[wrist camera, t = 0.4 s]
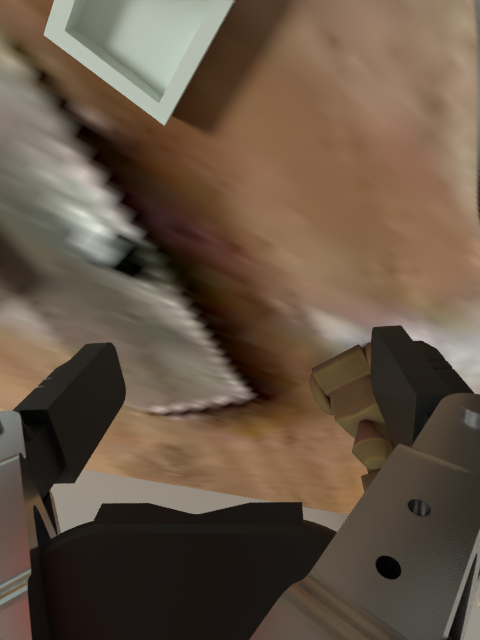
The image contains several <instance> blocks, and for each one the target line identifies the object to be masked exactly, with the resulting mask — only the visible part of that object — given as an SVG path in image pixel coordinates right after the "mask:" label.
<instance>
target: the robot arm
mask: <svg viewBox="0 0 480 640" xmlns="http://www.w3.org/2000/svg"><path fill="white" fill-rule="evenodd" d="M370 378H371V387H372V391H373V395H374V397H375V400H376V402H377V404H378V407H379V409H380V412H381V414H382V416H383V419H384V421H385V424H386V426H387V428H388V431H389V433H390V435H391V438H392V440H393V443H394V445H395V447H396V448H395V449H394V450H393V452H392V453H391V455H390V456H389V458H388V459H387V461H386V462H385V464H384V465H383V466H382V468H381V469H380V471H379V472H378V474H377V475H376V477H375V478H374V480H373V481H372V482H371V484H370V485H369V487H368V488H367V490H366V491H365V493H364V494H363V496H362V497H361V499H360V500H359V501H358V503H357V504H356V506H355V507H354V509H353V510H352V512H351V513H350V515H349V516H348V517H347V519H346V520H345V522H344V523H343V525H342V526H341V528H340V529H339V531H338V532H336V531H334V530H331V529H329V528H328V527H325V526H322V525H320V524H317V523H314V522H310V521H307V520H303V511H302V502H269V503H247V504H242V505H238V506H234V507H229V508H225V509H221V510H216V511H212V512H207V513H203V514H190V513H186V512H182V511H178V510H174V509H170V508H166V507H162V506H158V505H154V504H149V503H125V504H124V503H122V504H121V503H119V504H118V503H113V504H102V505H101V507H100V509H99V511H98V513H97V515H96V517H95V519H94V521H92V522H88V523H85V524H82V525H79V526H76V527H74V528H72V529H69V530H67V531H65V532H63V533H61V532H60V527H59V521H58V517H57V512H56V507H55V502H54V498H53V495H52V493H51V490H50V489H51V487H52V486H53V484H58V483H75V481H76V479H77V478H78V476H79V475H80V473H81V471H82V470H83V468H84V467H85V465H86V463H87V462H88V460H89V459H90V457H91V455H92V454H93V452H94V450H95V449H96V447H97V446H98V444H99V442H100V441H101V439H102V437H103V436H104V434H105V433H106V431H107V429H108V428H109V426H110V424H111V423H112V421H113V420H114V418H115V416H116V415H117V413H118V412H119V410H120V408H121V407H122V405H123V403H124V400H125V395H126V387H125V382H124V378H123V375H122V371H121V367H120V363H119V359H118V355H117V352H116V348H115V346H114V345H113V344H112V343H110V342H108V343H92V344H86V345H85V346H84V347H83V348H82V349H81V350H80V351H79V352H78V353H77V354H76V355H74V356H73V357H72V358H71V359H70V360H69V361H68V362H66V363H64V364H63V365H61V366H59V367H58V368H56V369H55V370H54V371H53V372H52V373H51V374H50V375H49V376H48V377H47V379H46V380H44V381H43V382H42V383H41V384H39V385H38V388H35V389H34V390H33V391H32V392H31V393H30V394H29V395H28V396H27V397H26V398H25V399H24V400H23V401H22V402H21V403H20V404H19V405H18V406H17V407H16V408H15V409H13V410H12V411H0V640H463V639H464V635H465V631H466V628H467V624H468V620H469V616H470V612H471V609H472V605H473V601H474V598H475V594H476V591H477V588H478V584H479V581H480V395H479V394H475V393H474V392H473V391H472V390H471V389H470V388H469V386H468V385H467V384H466V383H465V382H464V381H463V379H462V378H461V377H460V376H459V375H458V374H457V372H456V371H455V370H454V369H452V366H451V365H450V364H449V363H448V362H447V361H445V358H444V357H443V356H442V355H441V354H440V352H439V351H438V350H437V349H436V348H434V347H432V346H430V345H429V344H427V343H425V342H423V341H412V339H411V338H410V337H409V335H408V334H407V333H406V331H405V330H404V329H403V327H402V326H400V325H399V326H383V327H374V328H373V330H372V339H371V370H370Z"/></svg>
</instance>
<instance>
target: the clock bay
mask: <svg viewBox="0 0 480 640" xmlns="http://www.w3.org/2000/svg"><path fill="white" fill-rule="evenodd" d="M235 1H236V0H54V3H53V6H52V9H51V13H50V16H49V19H48V22H47V26H46V29H45V32H44V36H46V37H47V38H48V39H50V40H51V41H52V42H54V43H55V44H56V45H58V46H59V47H60V48H62V49H63V50H64V51H66V52H67V53H68V54H70V55H71V56H72V57H74V58H75V59H76V60H78V61H79V62H80V63H82V64H83V65H84V66H86V67H87V68H88V69H90V70H91V71H92V72H94V73H95V74H96V75H98V76H99V77H100V78H102V79H103V80H104V81H106V82H107V83H108V84H110V85H111V86H112V87H114V88H115V89H116V90H118V91H119V92H120V93H122V94H123V95H124V96H126V97H127V98H128V99H130V100H131V101H132V102H134V103H135V104H136V105H138V106H139V107H140V108H142V109H143V110H144V111H146V112H147V113H148V114H150V115H151V116H152V117H154V118H155V119H156V120H158V121H159V122H160V123H162V124H163V125H164V126H165V124H166V123H167V121H168V120H169V119H170V117H171V116H172V114H173V112H174V111H175V109H176V107H177V105H178V103H179V102H180V100H181V98H182V96H183V94H184V93H185V91H186V89H187V87H188V85H189V84H190V82H191V80H192V78H193V76H194V75H195V73H196V71H197V69H198V67H199V66H200V64H201V62H202V60H203V58H204V57H205V55H206V53H207V51H208V50H209V48H210V46H211V44H212V42H213V41H214V39H215V37H216V35H217V33H218V32H219V30H220V28H221V26H222V24H223V23H224V21H225V19H226V17H227V15H228V14H229V12H230V10H231V8H232V6H233V5H234V3H235Z"/></svg>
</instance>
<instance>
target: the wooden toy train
mask: <svg viewBox="0 0 480 640" xmlns="http://www.w3.org/2000/svg"><path fill="white" fill-rule="evenodd" d="M370 370H371V343H368V344H367V345H366V346H365V348H364V350H363V349H362V348H361V346H360V345H359V344H358V345H356V346H354V347H353V348H351V349H349V350H347V351H345V352H343V353H341V354H339V355H337V356H336V357H334V358H332V359H330V360H328V361H326V362H324V363H322V364H320V365H318V366H317V367H315V368H313V369H312V372H313V373H312V375H311V377H310V388H311V392H312V394H313V397H314V398H315V400H316V402H317V404H318V405H319V406H320V408H321V409H322V410H323V411H324V412H326V413H327V414H329V415H334V418H335V421H336V422H337V423H338V424H339V425H340V426H341V427H342V428H343V429H344V430H345V431H346V432H348V433H349V434H350V435H351V436H352V437H354V438H355V441H354V445H353V449H352V453H353V454H354V455H355V456H356V457H357V458H358V459H359V460H360V461H361V462H362V464H363V465H364V466H365V467H366V468H367V470H368V474H366V475H363V476H361V478H362V483H363V488H364V492H365V491H366V490H367V488H368V487H369V485H370V484H371V482H372V481H373V480H374V478H375V477H376V475H377V474H378V472H379V471H380V469H381V468H382V466H383V465H384V464H385V462H386V461H387V459H388V458H389V456H390V455H391V453H392V452H393V450H394V449H395V448H396V447H395V445H394V443H393V440H392V438H391V435H390V433H389V431H388V428H387V426H386V424H385V421H384V419H383V416H382V414H381V412H380V409H379V407H378V404H377V402H376V400H375V397H374V395H373V391H372V387H371V378H370Z"/></svg>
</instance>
